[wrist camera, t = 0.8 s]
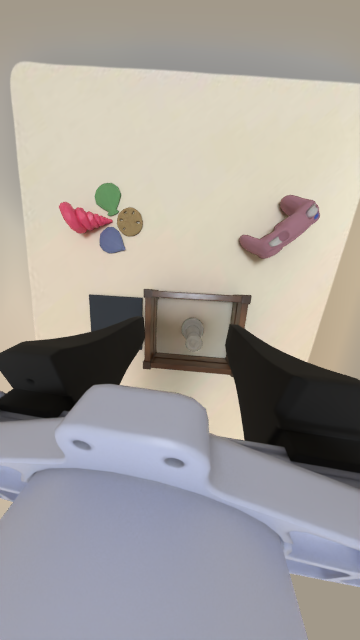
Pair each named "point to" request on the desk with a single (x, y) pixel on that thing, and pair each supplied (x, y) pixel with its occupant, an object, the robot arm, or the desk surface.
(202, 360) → the crate
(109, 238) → the toy pieces
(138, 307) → the mat
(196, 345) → the chess piece
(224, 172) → the desk surface
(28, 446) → the robot arm
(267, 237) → the video game controller
